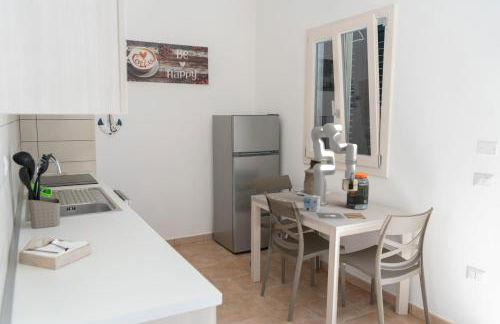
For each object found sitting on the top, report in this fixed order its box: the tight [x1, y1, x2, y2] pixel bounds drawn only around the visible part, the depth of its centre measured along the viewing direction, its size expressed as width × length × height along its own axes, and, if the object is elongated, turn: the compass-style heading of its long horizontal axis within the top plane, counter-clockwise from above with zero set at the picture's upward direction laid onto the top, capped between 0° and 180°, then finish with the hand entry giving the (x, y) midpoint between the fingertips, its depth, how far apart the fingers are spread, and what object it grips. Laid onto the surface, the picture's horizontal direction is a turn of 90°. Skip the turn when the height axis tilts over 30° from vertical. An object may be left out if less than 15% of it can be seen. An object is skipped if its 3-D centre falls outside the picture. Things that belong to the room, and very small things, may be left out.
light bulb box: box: [302, 194, 321, 213], centre depth 281 cm, size 11×7×11 cm, turn 62°
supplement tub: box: [346, 172, 370, 210], centre depth 291 cm, size 16×16×26 cm
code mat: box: [315, 212, 346, 220], centre depth 266 cm, size 14×17×1 cm
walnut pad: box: [343, 212, 367, 220], centre depth 266 cm, size 12×12×1 cm
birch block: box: [341, 178, 358, 192], centre depth 264 cm, size 6×9×7 cm, turn 89°
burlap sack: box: [296, 157, 331, 196], centre depth 338 cm, size 25×25×32 cm
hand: (349, 188), depth 264 cm, fingers closed on birch block, 6 cm apart
